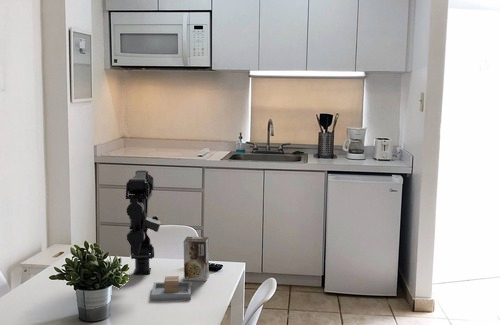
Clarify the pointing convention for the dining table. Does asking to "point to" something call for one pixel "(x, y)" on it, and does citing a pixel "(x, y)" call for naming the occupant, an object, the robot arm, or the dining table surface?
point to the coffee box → (196, 258)
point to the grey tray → (181, 295)
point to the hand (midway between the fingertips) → (138, 251)
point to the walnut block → (171, 284)
